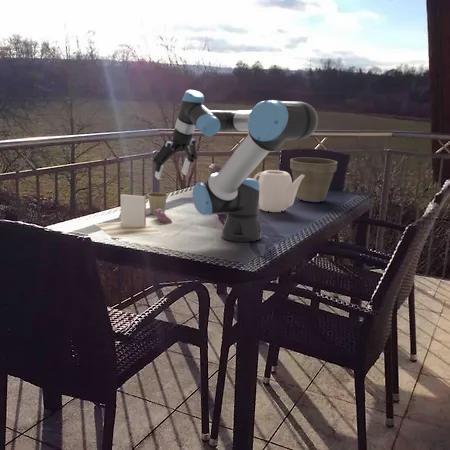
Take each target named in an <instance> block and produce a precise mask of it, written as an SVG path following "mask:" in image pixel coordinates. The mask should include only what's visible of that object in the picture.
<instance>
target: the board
mask: <svg viewBox="0 0 450 450" xmlns="http://www.w3.org/2000/svg"><path fill="white" fill-rule="evenodd" d="M94 225H95V226H96V227H97V228H99V229H100V230H101V231H103V232H104V233H106V234H107V235H108V236H111V237H110V238H111V239H112V240H113V241H114V240H115V241H116V239H118V240H120V238H127V237H135V236H145V235H153V234H162V232H161V231H160V230H158V229H156V228H154V227H152V226H151V225H149V224H147V223H146V226H145V227H141V226H131V225H121V221H115V222H104V223H95V224H94Z"/></svg>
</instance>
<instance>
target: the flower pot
mask: <svg viewBox="0 0 450 450" xmlns="http://www.w3.org/2000/svg"><path fill="white" fill-rule="evenodd" d="M146 196H147V199H148V203H149V204H148V205H149V212H150V214H151V215H154V214H155V212H154V211H155V210H156V209H162V210H163V212H164V214H166V213H165V212H166V203H167V199H168V196H169V194H168V193H164V192H149V193H147V194H146Z"/></svg>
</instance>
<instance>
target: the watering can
mask: <svg viewBox="0 0 450 450" xmlns="http://www.w3.org/2000/svg"><path fill="white" fill-rule="evenodd" d="M304 176H305V175H300V176H299V177H298V178H297V179H296V180H295V181H294V180H292V179H293V177H291V174H290V173H289V172H287V171H284V170H278V169H277V170H275V169H267V170H264V171H259V172H257V173H256V174H254V176H253V178H252V179H256V180H257V177H259V178H258V182H259V190H260V192H259V205H258V207H259V208H260V210H262V211H263V212H268V211H269V212H270V213H282V212H281V211H283V212H284V210H285V211H286V210H287V208H289V207H290V208H291V207H292V206H293V205H294V202H295V200H296V198H297V195H296V193H297V190H298V187H299V185H300V183H301V180H302V179H303V178H304Z"/></svg>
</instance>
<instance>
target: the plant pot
mask: <svg viewBox="0 0 450 450" xmlns="http://www.w3.org/2000/svg"><path fill="white" fill-rule="evenodd" d="M289 161H290V165H289V168H290V169H291V173H292V174H291V175H292V179H293V180H292V181H293V182H294V181H295V180H296V179H297V178H298V177H299V176H300V175H305V176H304V178H303V179H302V180H301V183H300V185H299V187H298V190H297V193H296V198H299V199H303V200H322V199H325V200H326V198H327V195H328V191H329V189H330V187H331V183H332V181H333V178H334V174H335V173H336V172H337V170H338V169H337V168H338V161H337V160H333V159H329V158H322V157H321V158H320V157H294V158H293V157H292V158H290V160H289Z"/></svg>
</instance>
